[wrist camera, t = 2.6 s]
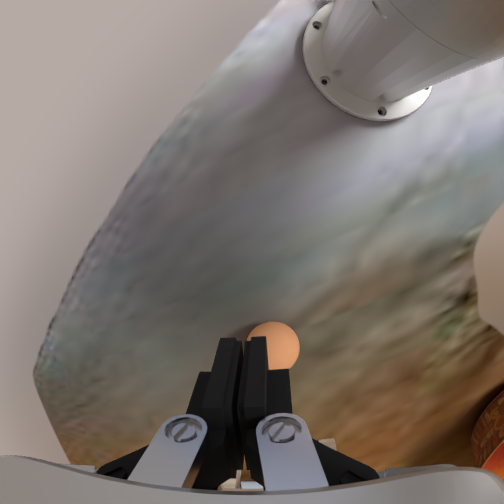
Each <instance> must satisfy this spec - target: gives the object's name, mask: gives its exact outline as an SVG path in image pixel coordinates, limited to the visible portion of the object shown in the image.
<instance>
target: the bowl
mask: <svg viewBox="0 0 504 504" xmlns="http://www.w3.org/2000/svg"><path fill="white" fill-rule="evenodd" d="M471 447H472V451H473V456H474V462H475V465H474V467H476V468H483V469H486V470H489V471H492V472H493V473H495V474H497V475H498V476H499V477H500V478H502V479H503V480H504V390H503V391H502V392H501V393H500V394H499V395H498V396H497V397H496V398H494V399H493V401H492V402H491V403H490V404H489V405H488V406H487V408H486V409H485V410H484V411H483V413H482V414H481V416H480V417H479V419H478V421H477V422H476V424H475V426H474V428H473V430H472V435H471Z"/></svg>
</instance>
